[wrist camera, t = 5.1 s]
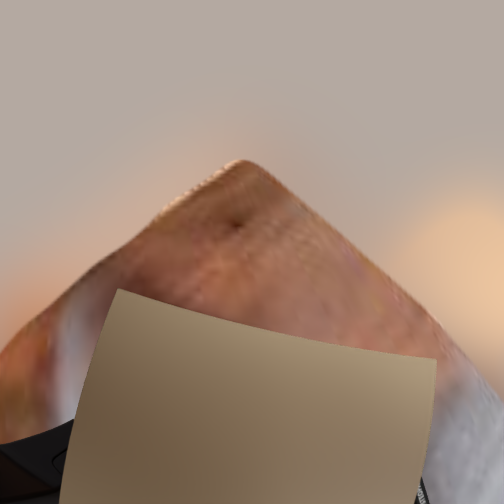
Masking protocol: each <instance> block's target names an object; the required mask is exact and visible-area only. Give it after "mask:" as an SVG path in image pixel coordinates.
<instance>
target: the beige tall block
mask: <svg viewBox="0 0 504 504" xmlns="http://www.w3.org/2000/svg"><path fill="white" fill-rule="evenodd" d="M436 365H437V359H429V358H421V357H413V356H405V355H398V354H391V353H384V352H377V351H371V350H365V349H359V348H353V347H347V346H342V345H336V344H331V343H325V342H320V341H315V340H310V339H305V338H300V337H296V336H291V335H286V334H282V333H277V332H273V331H269V330H264V329H260V328H256V327H252V326H247V325H243V324H239V323H235V322H231V321H228V320H224V319H220V318H216V317H212V316H209V315H205V314H201V313H198V312H194V311H191V310H187V309H184V308H180V307H177V306H173V305H170V304H167V303H163V302H160V301H157V300H153V299H150V298H147V297H144V296H141V295H138V294H135V293H131V292H128V291H125V290H122V289H119V288H118V289H117V291H116V294H115V296H114V299H113V301H112V304H111V307H110V309H109V312H108V314H107V317H106V320H105V322H104V325H103V328H102V331H101V333H100V336H99V339H98V342H97V345H96V348H95V351H94V354H93V357H92V360H91V363H90V366H89V369H88V372H87V376H86V379H85V382H84V386H83V389H82V393H81V396H80V400H79V404H78V407H77V411H76V415H75V419H74V423H73V427H72V432H71V436H70V441H69V445H68V450H67V455H66V460H65V466H64V472H63V478H62V484H61V491H60V499H59V504H414V501H415V498H416V495H417V491H418V487H419V483H420V479H421V475H422V471H423V467H424V462H425V457H426V452H427V447H428V441H429V435H430V429H431V422H432V414H433V405H434V395H435V383H436Z"/></svg>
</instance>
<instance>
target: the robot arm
mask: <svg viewBox="0 0 504 504" xmlns="http://www.w3.org/2000/svg"><path fill="white" fill-rule="evenodd" d="M73 423H74V419H72V420H70V421H68V422H66V423H64V424H62V425H60V426H58V427H55V428H53V429H51V430H48V431H45V432H43V433H40V434H37V435H34V436H30V437H27V438H24V439H21V440H17V441H14V442H10V443H6V444H0V504H59V499H60V491H61V484H62V478H63V472H64V466H65V460H66V455H67V450H68V445H69V441H70V436H71V432H72V427H73Z"/></svg>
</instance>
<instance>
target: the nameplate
mask: <svg viewBox="0 0 504 504" xmlns="http://www.w3.org/2000/svg"><path fill="white" fill-rule="evenodd" d="M414 504H430V503H429V500H428V496H427V493H426V490H425V486H424V483H423V480H422V476H421V479H420V483H419V487H418V491H417V495H416V498H415V501H414Z"/></svg>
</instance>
